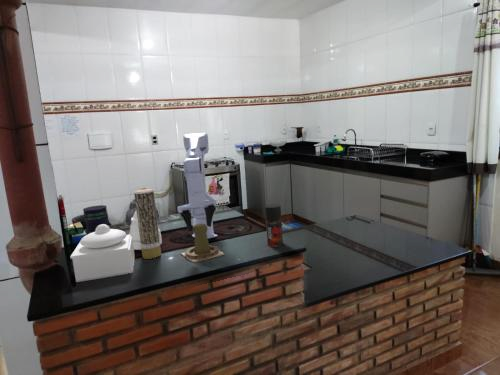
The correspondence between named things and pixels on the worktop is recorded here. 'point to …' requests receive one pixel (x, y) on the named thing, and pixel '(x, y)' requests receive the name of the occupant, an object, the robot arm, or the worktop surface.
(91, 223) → the storage jar
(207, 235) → the robot arm
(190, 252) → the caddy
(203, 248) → the khaki cylinder
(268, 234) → the deodorant
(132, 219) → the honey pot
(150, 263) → the worktop surface
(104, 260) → the butter dish
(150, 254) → the wooden log
